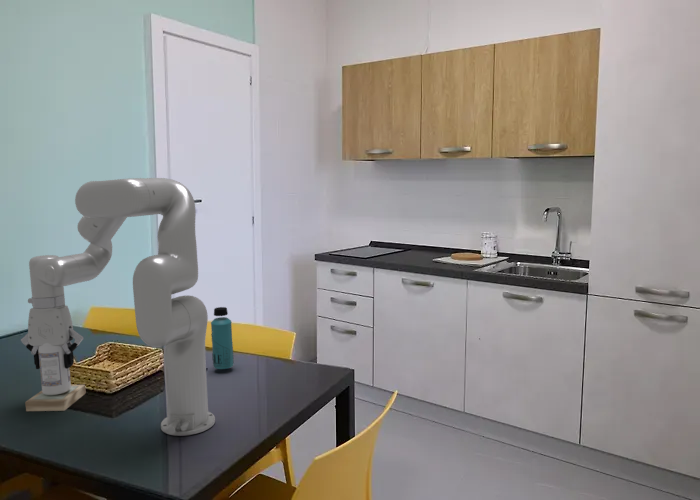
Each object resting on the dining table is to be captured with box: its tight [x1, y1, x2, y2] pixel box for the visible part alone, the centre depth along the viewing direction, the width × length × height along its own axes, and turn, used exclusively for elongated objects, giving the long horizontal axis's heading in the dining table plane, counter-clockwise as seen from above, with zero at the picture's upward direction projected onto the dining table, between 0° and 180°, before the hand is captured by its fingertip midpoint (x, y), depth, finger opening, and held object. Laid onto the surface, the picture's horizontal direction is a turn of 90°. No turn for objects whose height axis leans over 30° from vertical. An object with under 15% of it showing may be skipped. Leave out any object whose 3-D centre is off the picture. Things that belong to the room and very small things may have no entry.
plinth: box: [24, 384, 87, 412], centre depth 152 cm, size 12×10×3 cm
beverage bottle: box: [210, 306, 235, 370], centre depth 174 cm, size 6×7×20 cm
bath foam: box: [38, 343, 72, 395], centre depth 151 cm, size 7×7×20 cm
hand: (54, 366), depth 151 cm, fingers closed on bath foam, 7 cm apart
